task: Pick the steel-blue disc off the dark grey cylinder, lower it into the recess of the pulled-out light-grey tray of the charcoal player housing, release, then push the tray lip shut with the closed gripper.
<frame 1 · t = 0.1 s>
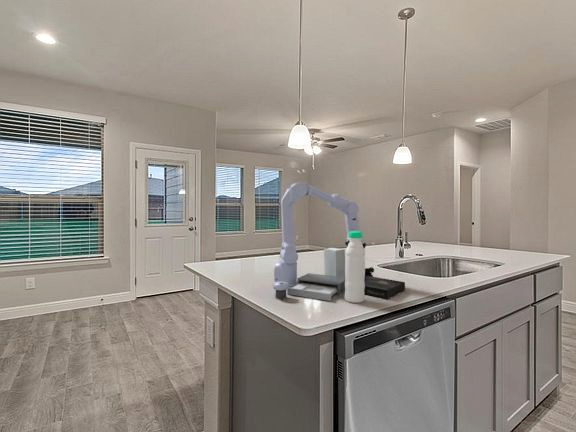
hand: (357, 257, 144), 11 cm above the worktop, tool pointing down, fingers open, 7 cm apart
portable cd player: (376, 292, 128), on the worktop
disc: (280, 288, 118), point 3 cm above the worktop, touching dark grey cylinder
tray: (314, 290, 122), point 1 cm above the worktop, slide at 8.0 cm
housing: (322, 288, 130), on the worktop
dark grey cylinder: (280, 297, 118), on the worktop
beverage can: (358, 280, 147), on the worktop
water bottle: (354, 300, 115), on the worktop
skincare box: (334, 282, 142), on the worktop
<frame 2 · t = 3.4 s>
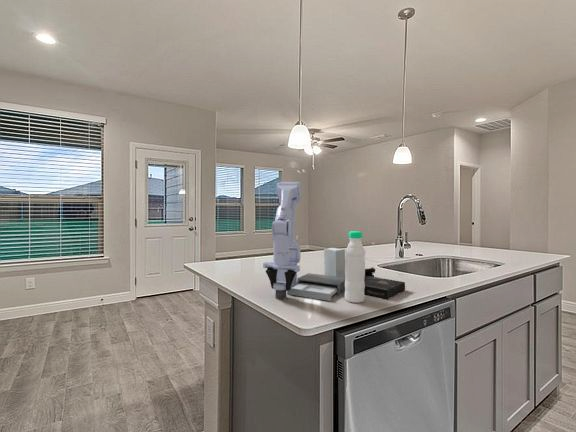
hand: (280, 289, 118), 3 cm above the worktop, tool pointing down, fingers closed on disc, 6 cm apart
disc: (280, 288, 118), point 3 cm above the worktop, touching gripper, dark grey cylinder
when the fingers open (3 cm above the worktop, at t = 7.0 s): disc drops 1 cm, resting on tray.
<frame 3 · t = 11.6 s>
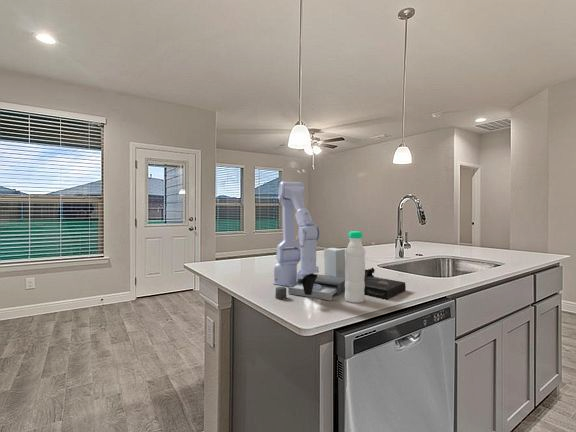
hand: (308, 294, 117), 1 cm above the worktop, tool pointing down, fingers closed
disc: (314, 290, 122), point 2 cm above the worktop, touching tray
tray: (314, 290, 123), point 1 cm above the worktop, slide at 7.1 cm, touching disc, gripper
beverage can: (358, 281, 144), on the worktop
everything else where it was.
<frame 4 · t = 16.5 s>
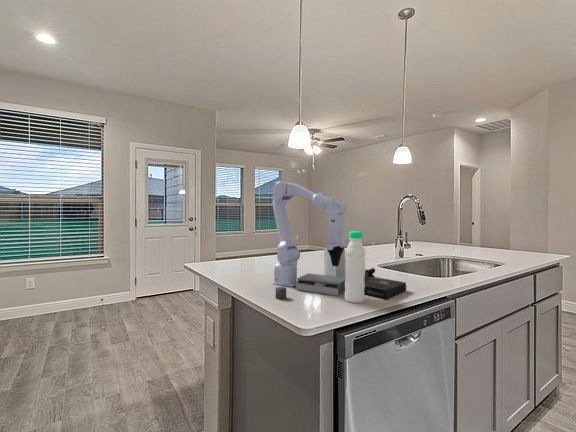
hand: (335, 265, 125), 10 cm above the worktop, tool pointing down, fingers closed
disc: (320, 286, 128), point 2 cm above the worktop, touching tray
tray: (321, 286, 129), point 1 cm above the worktop, slide at 0.4 cm, touching disc
at the end: tray slide at 0.4 cm; disc inside the target area on the housing (1.2 cm from its centre), point 1.6 cm above the housing's base; disc tilted 0° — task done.
